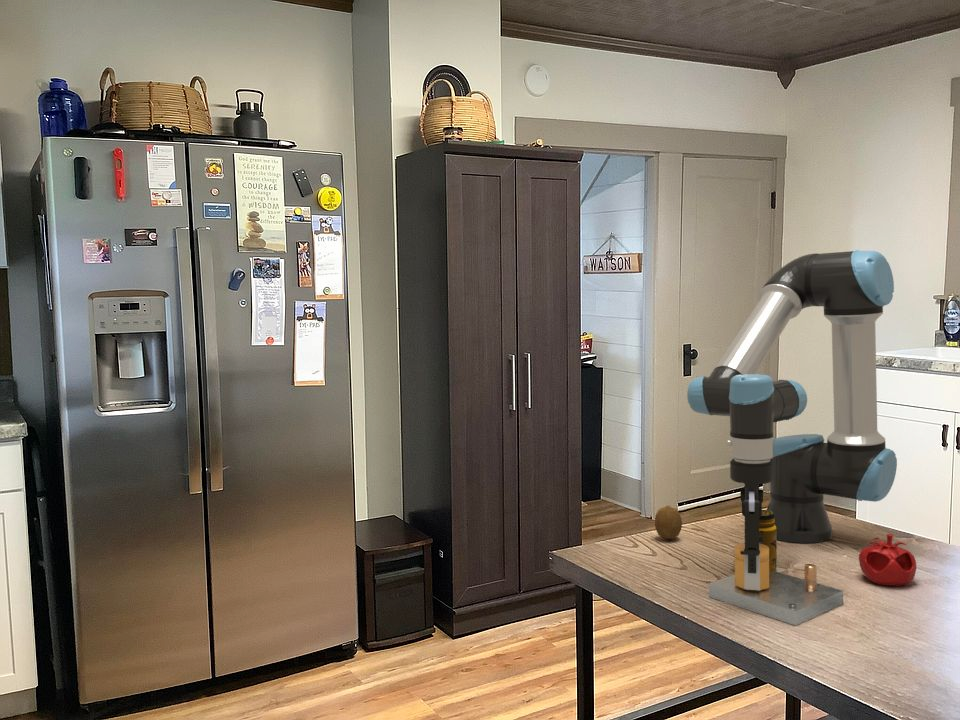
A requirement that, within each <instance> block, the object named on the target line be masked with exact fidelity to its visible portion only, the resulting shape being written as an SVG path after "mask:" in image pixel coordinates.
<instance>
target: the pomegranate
mask: <svg viewBox="0 0 960 720" xmlns="http://www.w3.org/2000/svg"><path fill="white" fill-rule="evenodd" d="M893 537H894V534H892V533H887V534H886V542H884V541H883V540H882V539H881V538H880V537H876V538H874V539H873V538H872V540H873V541H870V542H867V545H868V546H866V547H864V548H863V549H862V550H860V552H859V554H858V563H859V566H860V570H861V572H862V574H863V575H864V576H865V577H866V578H867V579H868V580H869V581H871V582H872V583H874V584H877V585H880V586H895V587H899V586H901V587H902V586H905V585H907V584H910V582H912V581H913V580H914V578H915V576H916V571H917V562H916V558H915V556H914V554H913V553H912V552H910V550H908V549H905V548H902V547H899V545H903V546H904V545H908V543H905V542H902V541H901V542H900V541H898V542H896V543H893V542H892V541H893V540H894V538H893ZM877 540H878V541H879V542H877ZM870 544H871V545H870Z"/></svg>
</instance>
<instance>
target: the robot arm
mask: <svg viewBox="0 0 960 720" xmlns="http://www.w3.org/2000/svg"><path fill="white" fill-rule="evenodd" d="M894 282H895V281H894V276H893V271H892V268H891V265H890V263H889V261H888V260H887V258H886V257H885V256H884V255H883V254H882V253H880V252H879V251H876V250H859V249H858V250H852V251H849V250H848V251H837V252H836V251H835V252H825V253H823V252H822V253H808V254H804V255H801V256H799V257H797V258H794V259H793V260H791V261H790V262H787V264H786V263H785V265H783V266H782V267H781V268H780V269H778V270H777V271H776V272H775V273H773V274H772V275H771V276H770V277H769V279H767V281H766V282H765V284H764V285H763V287H762V288H761V290H760V291H759V293H758V302H757V303H756V306H755V307H754V308H753V310H752V311H751V313H750V315H749V316H748V317H747V319H746V321H745V322H744V324H743V325H742V327H741V328H740V330H739V331H738V333H736V336H735V337H734V339H733V340H732V342H731V343H730V345H729V346H728V347H727V349H726V351H725V352H724V354H723V355H722V357H721V358H720V360H719V362H718V363H717V364H716V366H715V368H714V369H713V371H711V373H710V375H709V376H698V377H696V378H693V379H692V380H691V381H690V383H689V385H688V387H687V391H686V392H687V395H686V397H687V403H688V405H689V406H690V409H691V410H692V411H694V412H696V413H698V414H703V415H709V416H720V417H721V416H723V417H729V426H730V427H729V429H730V431H729V435H730V440H727V441H726V446H729V447H730V453H729V455H730V457H731V458H732V459H731V460H730V461H729V466H730V467H729V472H730V473H729V474H730V475H729V477H730V479H731V480H732V481H733V482H735V483H739V484H741V483H742V484H744V486H743V488H740V496H739V498H740V502H741V514H742V516H743V517H744V542H745V549H744V551H741V555H744V589H747V590H760V550H759V542H763V537H759V517H761V516H762V510H763V509H762V508H763V507H762V506H763V501H764V489H760V484H763V485H765V484H769V502H768V505H767V508H766V510H768V511H771V512H773V513H774V516H775V517H774V520H775V523H774V524H775V526H776V531H777V535H776V538H777V539H776V541H777V540H779V541H783V542H789V543H800V544H801V543H802V544H804V543H805V544H810V543H811V544H812V543H821V542H825V541H828V540H830V539H831V538H832V537H833V529H832V524H831V521H830V518H829V515H828V512H827V509H826V507H825V504H824V502H825V501H824V495H826V496H833V497H838V498H843V499H844V498H846V499H853V500H857V501H858V502H859V501H860V502H863V501H866V502H875V503H876V502H880V501H882V500H883V499H885V498H886V497H887V496H888V494H889V492H890V491H891V489H892V487H893V485H894V482H895V479H896V475H897V467H898V466H897V465H898V462H897V461H898V460H897V456H896V454H897V453H896V452H895V451H894V450H893V449H890V448H888V447H886V438H885V436H883V435H882V434H881V433H880V432H879V431H878V398H877V397H878V394H877V393H878V392H877V389H878V388H877V387H878V386H877V385H878V384H877V349H876V348H877V345H876V344H877V341H876V339H877V337H876V336H877V335H876V323H877V320H878V319H879V318H880V317H881V316H882V315H883V314H884V307H885V306H888V305H889V304H890V303H891V302H892V300H893V297H894V294H893V293H894V291H895V290H894V289H895V284H894ZM810 307H823V316H824V317H825V318H826V319H827V320H828V321H829V322H830V323H831V347H832V348H831V349H832V350H831V351H832V352H831V353H832V381H833V382H832V386H833V387H832V389H833V424H834V425H833V427H834V428H833V429H834V431H832V432H831V433H830V434H829V435H828V436H827V438H826V442H825V438H824V436H823V435H822V434H816V433H805V434H804V433H803V434H792V435H791V434H790V435H787V436H779V437H776V438H774V423H778V422H781V421H783V422H784V421H789V420H792V419H793V418H795V417H798V416H800V415H801V414H802V413H803V412H804V411H805V409H806V407H807V405H808V395H807V391H806V390H805V388H804V387H803V386H802V384H800V383H799V382H797V381H795V380H792V379H778V380H773V378H772V377H771V376H770V375H768V374H758V373H757V372H758V371H759V370H760V367H762V364H763V363H764V361H765V360H766V358H767V356H768V355H769V354H770V352H771V350H772V349H773V347H774V345H775V343H776V342H777V340H778V339H779V337H780V336H781V334H782V332H783V331H784V329H785V328H786V326H787V325H788V324H789V321H790V320H792V319H794V318H796V317H798V315H799V314H800V313H801V311H802V310H804V309H805V308H806V309H807V308H810Z"/></svg>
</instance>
